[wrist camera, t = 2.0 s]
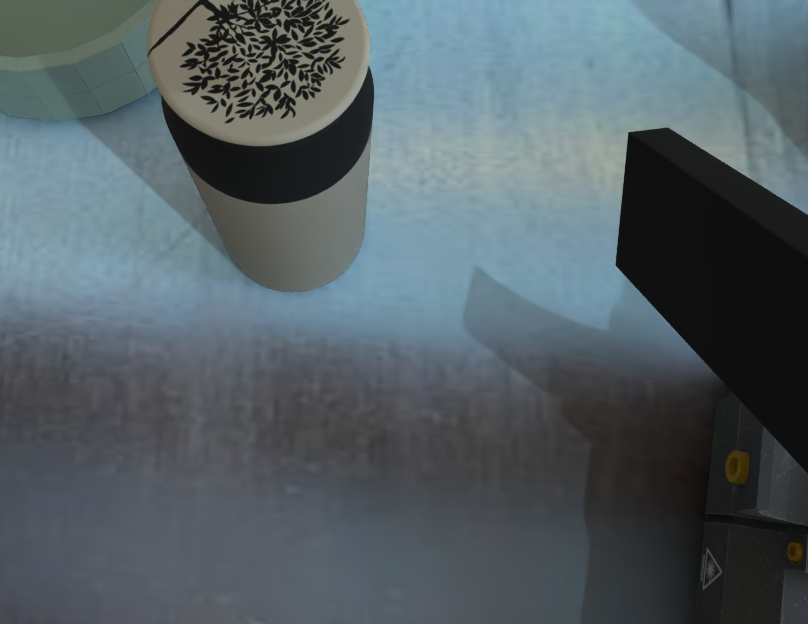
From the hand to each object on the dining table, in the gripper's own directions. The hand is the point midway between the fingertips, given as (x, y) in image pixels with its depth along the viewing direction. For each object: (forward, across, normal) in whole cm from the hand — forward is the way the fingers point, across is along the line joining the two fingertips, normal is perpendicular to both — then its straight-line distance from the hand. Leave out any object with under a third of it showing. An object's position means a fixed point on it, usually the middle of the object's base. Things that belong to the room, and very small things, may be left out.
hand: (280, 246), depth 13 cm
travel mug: (+27, 0, -12) cm, 30 cm away
